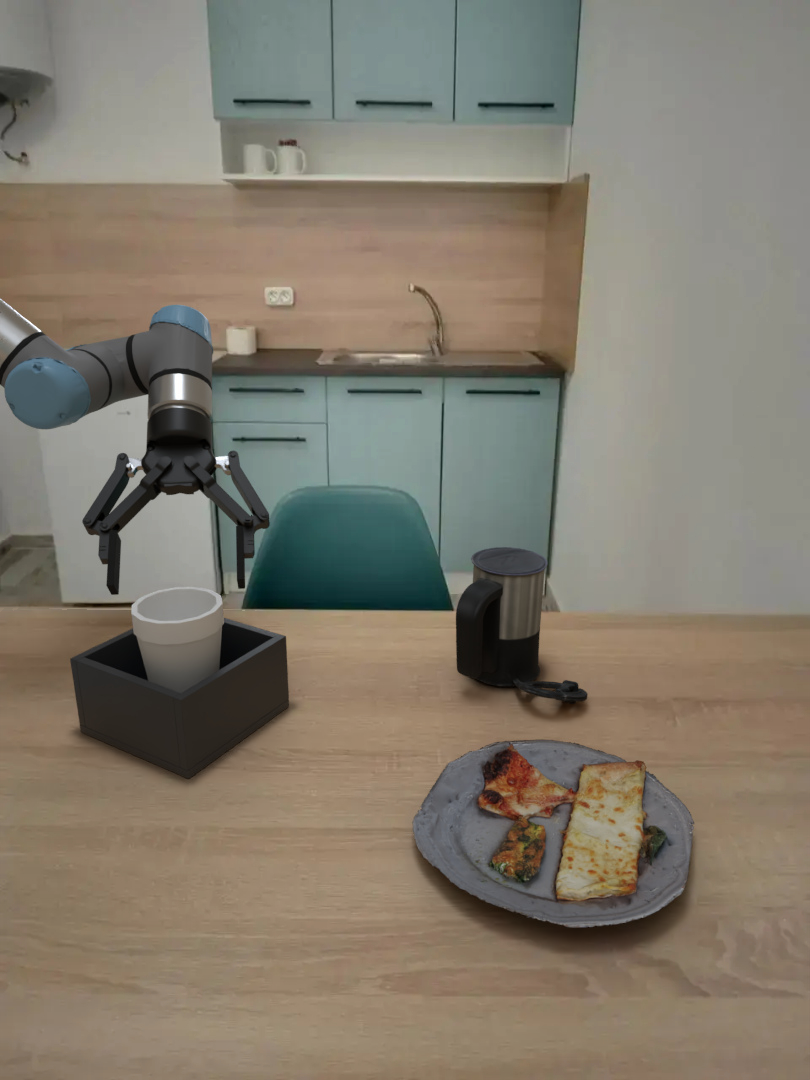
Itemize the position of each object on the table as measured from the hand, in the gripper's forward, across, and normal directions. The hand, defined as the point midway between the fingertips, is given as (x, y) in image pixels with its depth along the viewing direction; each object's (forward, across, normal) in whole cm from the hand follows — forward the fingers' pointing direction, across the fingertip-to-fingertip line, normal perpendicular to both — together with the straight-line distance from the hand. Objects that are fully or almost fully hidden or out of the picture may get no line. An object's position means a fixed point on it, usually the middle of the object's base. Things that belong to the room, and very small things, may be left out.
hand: (177, 587), depth 90 cm
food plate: (+30, -34, +9) cm, 46 cm away
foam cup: (+12, 0, -8) cm, 14 cm away
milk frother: (+11, -40, -10) cm, 42 cm away
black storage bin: (+12, 0, -8) cm, 15 cm away
